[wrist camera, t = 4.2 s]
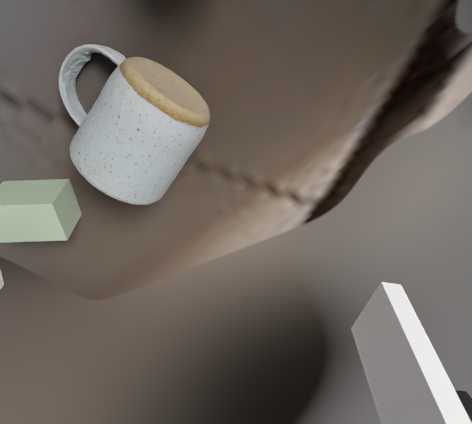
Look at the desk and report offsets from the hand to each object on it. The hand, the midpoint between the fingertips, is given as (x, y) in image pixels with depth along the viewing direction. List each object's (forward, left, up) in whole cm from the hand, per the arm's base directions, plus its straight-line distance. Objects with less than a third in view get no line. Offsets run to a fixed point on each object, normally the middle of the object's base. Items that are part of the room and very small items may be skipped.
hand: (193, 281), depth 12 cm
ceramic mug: (-6, -3, -20) cm, 21 cm away
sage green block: (-13, -14, -20) cm, 27 cm away
